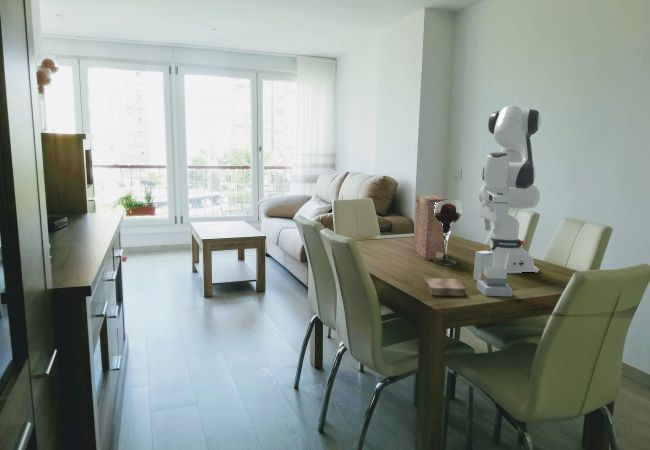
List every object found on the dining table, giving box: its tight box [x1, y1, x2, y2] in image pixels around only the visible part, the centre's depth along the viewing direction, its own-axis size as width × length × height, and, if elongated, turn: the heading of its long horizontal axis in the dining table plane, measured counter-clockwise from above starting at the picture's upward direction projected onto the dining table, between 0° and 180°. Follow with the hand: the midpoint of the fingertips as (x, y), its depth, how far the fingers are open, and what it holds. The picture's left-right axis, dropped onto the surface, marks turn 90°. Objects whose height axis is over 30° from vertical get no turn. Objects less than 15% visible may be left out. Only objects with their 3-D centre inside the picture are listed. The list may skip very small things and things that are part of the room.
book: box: [413, 194, 448, 261], centre depth 241 cm, size 25×9×30 cm, turn 2°
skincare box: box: [472, 250, 493, 281], centre depth 196 cm, size 6×4×12 cm
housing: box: [483, 267, 508, 286], centre depth 179 cm, size 7×4×6 cm, turn 89°
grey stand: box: [476, 280, 513, 297], centre depth 180 cm, size 10×10×3 cm
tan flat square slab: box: [423, 277, 467, 297], centre depth 180 cm, size 13×13×3 cm
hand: (491, 232), depth 180 cm, fingers open, 8 cm apart
